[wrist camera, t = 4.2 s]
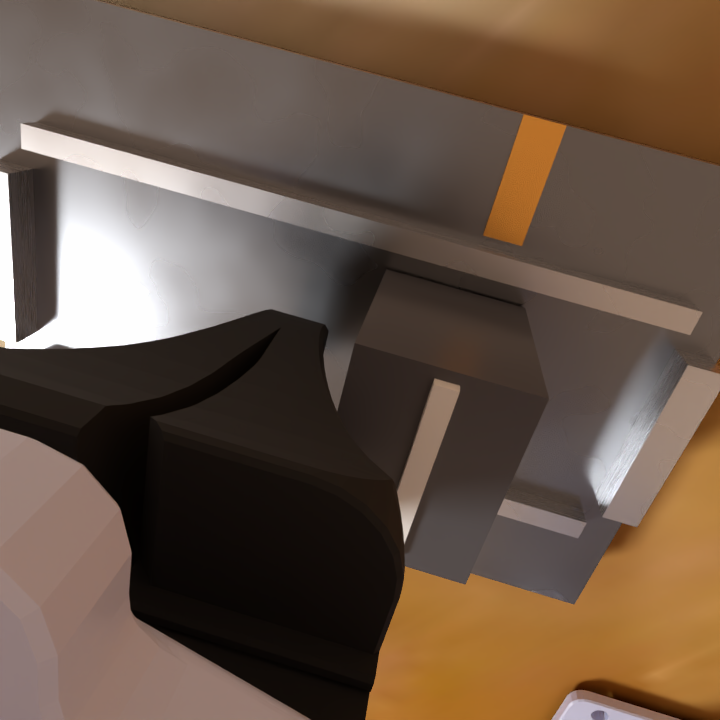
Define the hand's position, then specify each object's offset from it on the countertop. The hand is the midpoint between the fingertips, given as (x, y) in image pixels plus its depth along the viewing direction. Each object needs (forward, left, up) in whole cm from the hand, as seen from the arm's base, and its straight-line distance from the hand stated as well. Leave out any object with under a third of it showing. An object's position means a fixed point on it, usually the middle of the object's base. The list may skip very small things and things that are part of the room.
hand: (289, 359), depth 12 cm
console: (0, 0, -3) cm, 3 cm away
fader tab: (-3, 0, -1) cm, 3 cm away
